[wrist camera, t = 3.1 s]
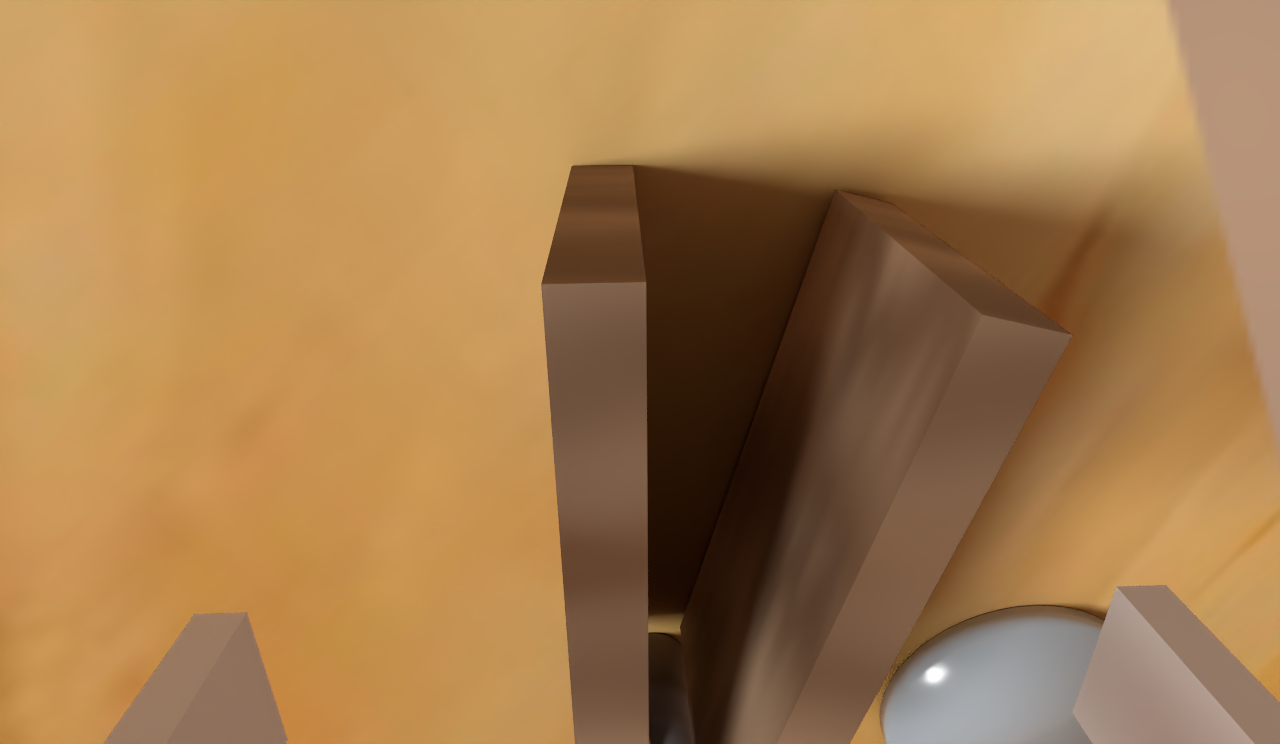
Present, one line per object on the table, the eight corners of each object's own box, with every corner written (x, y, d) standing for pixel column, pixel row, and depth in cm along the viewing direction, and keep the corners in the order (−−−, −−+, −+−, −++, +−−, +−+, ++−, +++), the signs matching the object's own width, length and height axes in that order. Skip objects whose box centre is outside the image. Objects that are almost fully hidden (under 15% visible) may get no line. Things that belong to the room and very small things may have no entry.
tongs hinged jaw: (828, 187, 19) (970, 312, 12) (891, 203, 20) (1073, 334, 12) (654, 683, 28) (670, 950, 20) (700, 689, 28) (734, 955, 20)
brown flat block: (572, 166, 19) (540, 288, 11) (705, 163, 19) (772, 284, 11) (597, 684, 28) (590, 968, 20) (689, 682, 28) (720, 963, 20)
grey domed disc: (900, 609, 27) (909, 630, 26) (1170, 601, 27) (1189, 622, 26) (864, 785, 31) (872, 808, 30) (1096, 777, 31) (1110, 799, 31)
